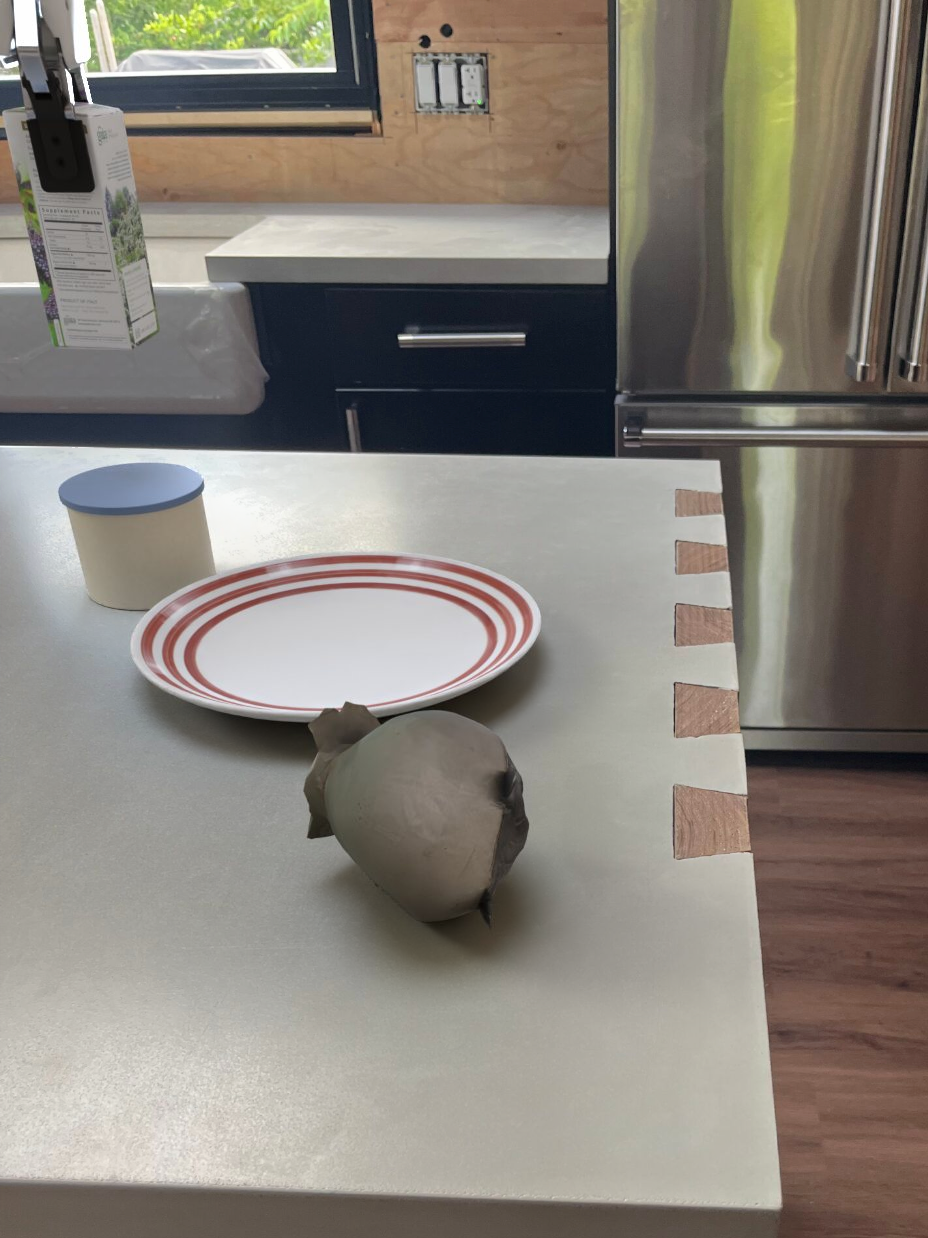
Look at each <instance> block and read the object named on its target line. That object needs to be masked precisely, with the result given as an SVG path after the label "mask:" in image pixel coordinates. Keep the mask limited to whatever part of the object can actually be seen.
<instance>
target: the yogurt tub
mask: <svg viewBox="0 0 928 1238" xmlns="http://www.w3.org/2000/svg"><path fill="white" fill-rule="evenodd" d="M205 486H206V485H205V480H204V477H203V475H202V474H201V473H200V472H199V471H197V470H195V469H194V468H191V467H188V466H184V465H181V464H174V463H169V462H168V463H165V462H130V463H118V464H113V465H107V466H102V467H97V468H93V469H89V470H86V471H83V472H80V473H77V474H76V475H73V476H71V477H69V478H67V479H66V480H64V481H63V482H62V483H61V484H60V485H59V487H58V491H57V494H58V497H59V501H60V502H61V504H62V505H63V506H65V508H66V512H67V515H68V519H69V524H70V527H71V532H72V535H73V539H74V543H75V547H76V551H77V555H78V559H79V563H80V567H81V572H82V576H83V579H84V583H85V588H86V592H87V595H88V597H89V598H90V600H92V601H93V602H95V603H97V604H98V605H101V606H104V607H107V608H110V609H111V608H112V609H117V610H126V611H128V610H129V611H145V610H146V611H147V610H148V611H149V610H150V609H152V608H153V607H154V606H155V605H156V604H158V603H159V602H160V601H162V600H163V599H165V598H166V597H168V596H170V595H171V594H173V593H175V592H176V591H178V590H180V589H182V588H184V587H186V586H188V585H190V584H193V583H195V582H197V581H200V580H202V579H205V578H208V577H210V576H213V575H216V574H217V568H216V564H215V559H214V553H213V548H212V541H211V535H210V531H209V526H208V520H207V515H206V509H205V502H204V498H203V492H204V490H205Z"/></svg>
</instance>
